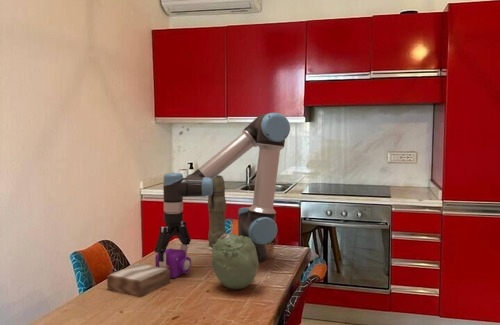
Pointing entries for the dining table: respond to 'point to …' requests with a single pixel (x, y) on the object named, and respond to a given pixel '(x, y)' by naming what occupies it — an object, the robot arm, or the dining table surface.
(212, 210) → the olive green segmented column
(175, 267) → the toy camera
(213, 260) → the cabbage
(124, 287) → the stand
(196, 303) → the dining table surface
